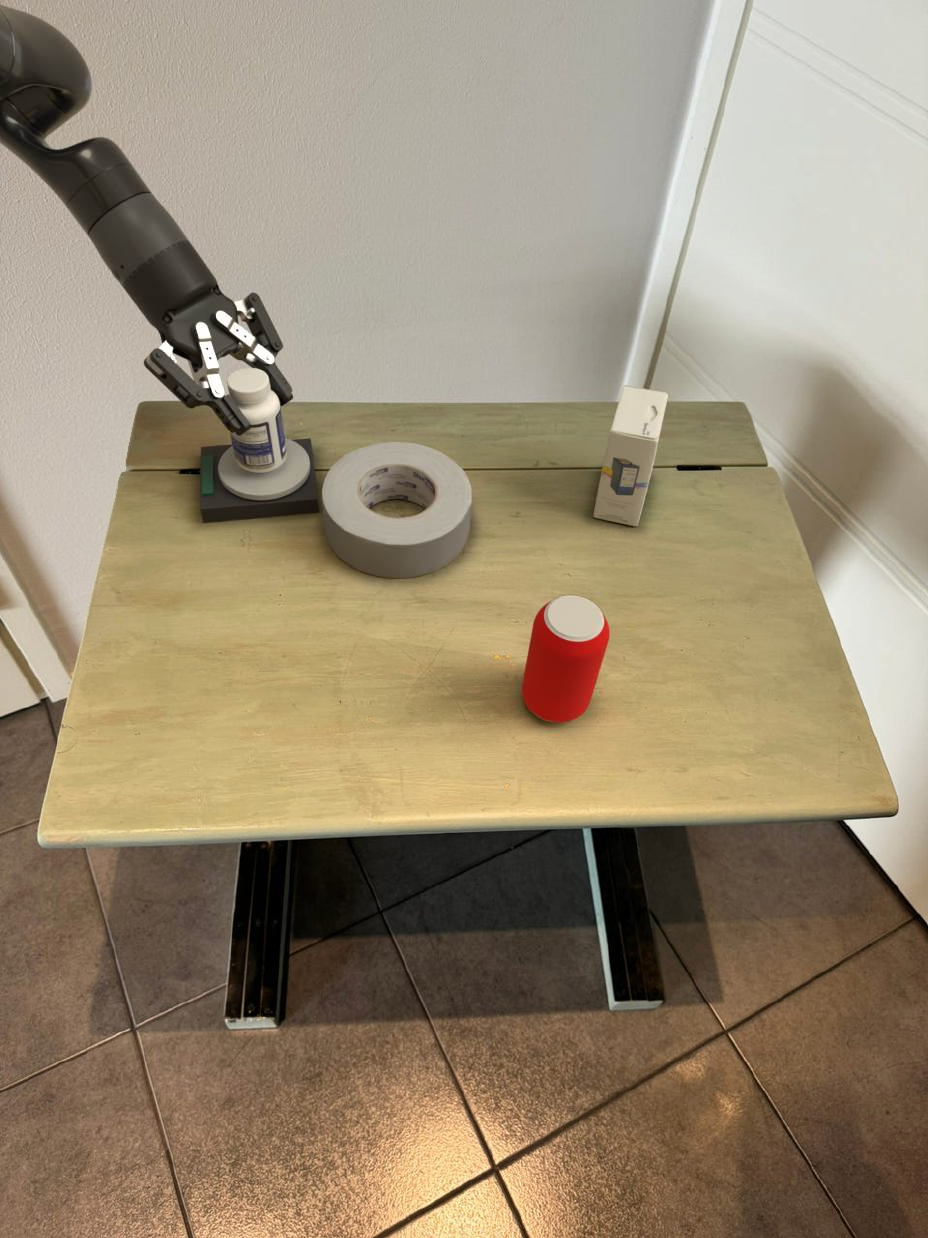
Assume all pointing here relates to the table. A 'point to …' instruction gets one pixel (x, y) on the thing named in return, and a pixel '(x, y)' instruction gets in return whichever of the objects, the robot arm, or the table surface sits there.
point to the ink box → (630, 455)
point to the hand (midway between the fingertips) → (266, 416)
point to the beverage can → (564, 658)
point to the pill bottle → (257, 421)
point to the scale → (257, 485)
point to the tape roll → (389, 539)
